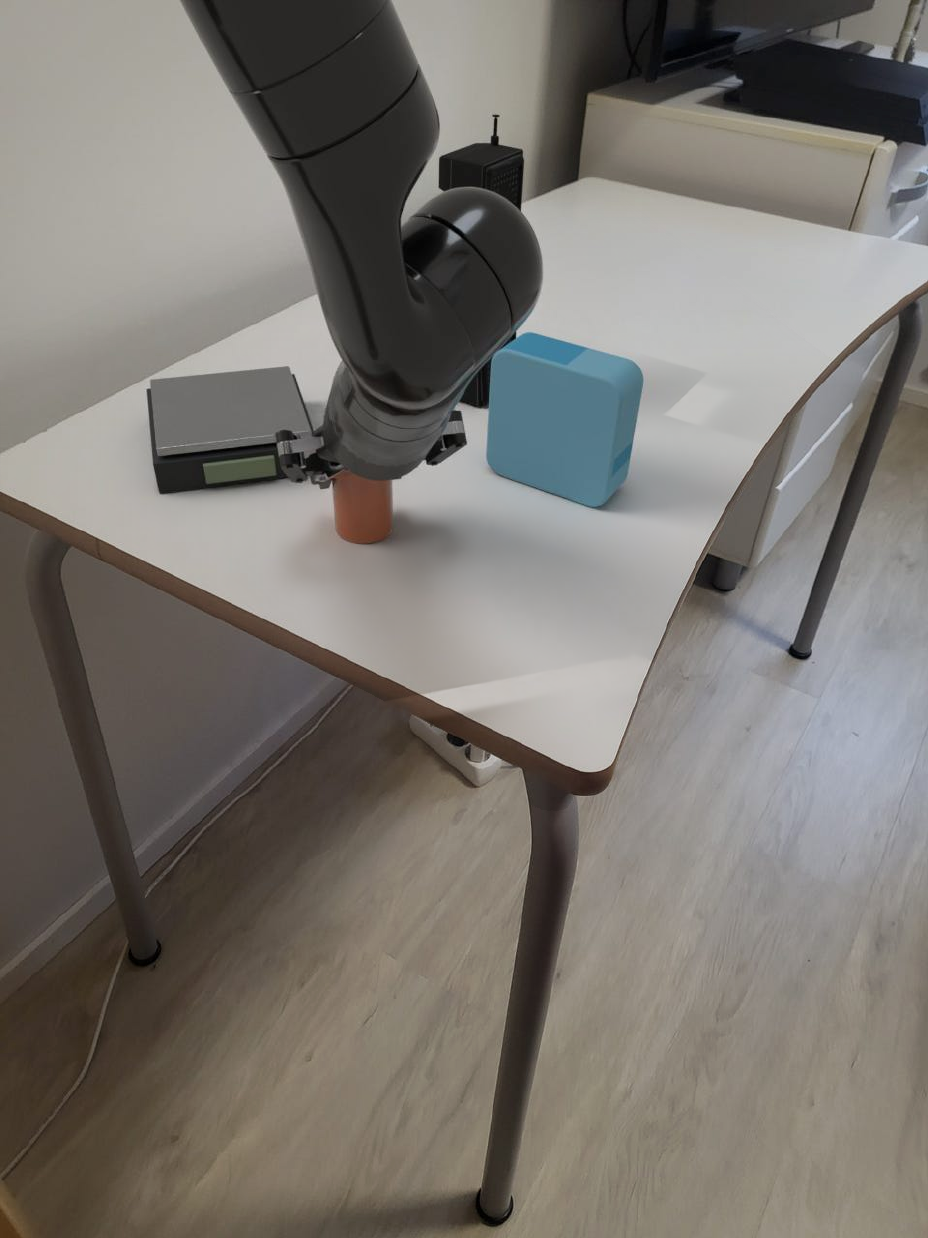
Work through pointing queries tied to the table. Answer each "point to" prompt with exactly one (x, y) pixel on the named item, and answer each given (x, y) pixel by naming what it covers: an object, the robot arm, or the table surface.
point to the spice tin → (362, 508)
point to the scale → (216, 463)
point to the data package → (562, 417)
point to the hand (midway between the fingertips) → (357, 471)
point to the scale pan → (225, 410)
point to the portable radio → (494, 173)
